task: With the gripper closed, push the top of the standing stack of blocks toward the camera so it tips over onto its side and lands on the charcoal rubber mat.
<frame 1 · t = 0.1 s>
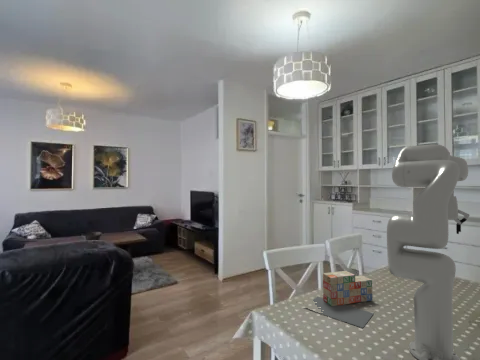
hand: (443, 232, 115), 31 cm above the table, tool pointing down, fingers open, 9 cm apart
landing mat: (337, 310, 109), on the table
stack of blocks: (347, 301, 118), on the table, touching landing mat
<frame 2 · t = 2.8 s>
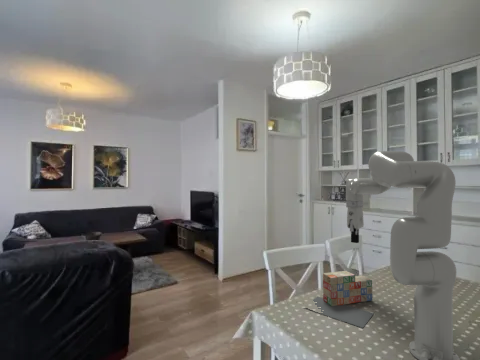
hand: (354, 242, 127), 24 cm above the table, tool pointing down, fingers closed
nothing on the table moved.
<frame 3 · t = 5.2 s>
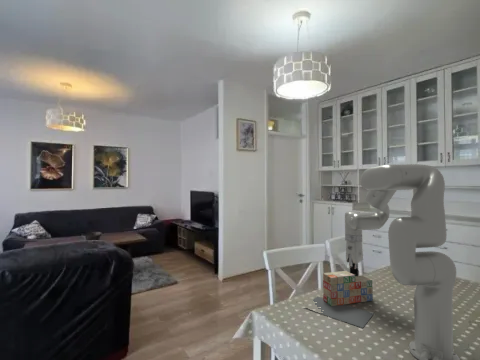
hand: (354, 276, 125), 9 cm above the table, tool pointing down, fingers closed
stack of blocks: (347, 301, 118), on the table, touching gripper, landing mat
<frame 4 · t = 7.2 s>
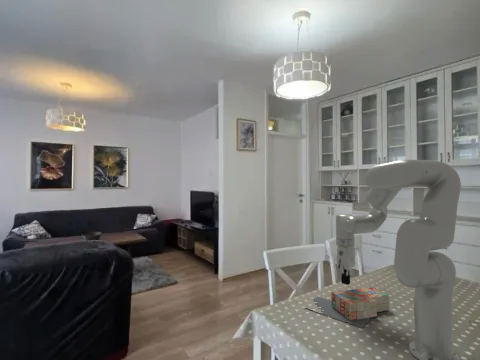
hand: (345, 283, 116), 9 cm above the table, tool pointing down, fingers closed
stack of blocks: (352, 296, 115), point 3 cm above the table, touching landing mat
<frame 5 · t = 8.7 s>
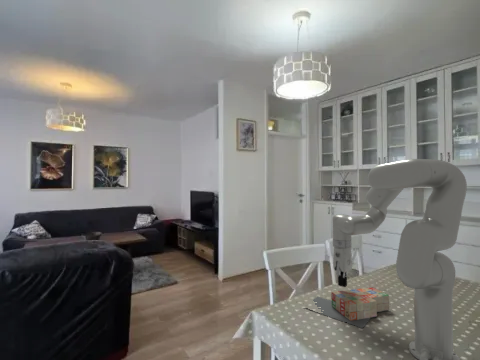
hand: (342, 285, 114), 9 cm above the table, tool pointing down, fingers closed
nothing on the table moved.
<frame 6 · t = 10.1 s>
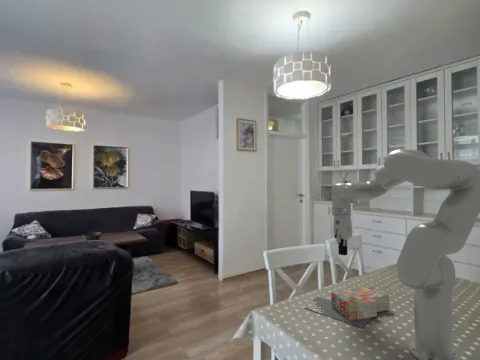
hand: (343, 254, 113), 22 cm above the table, tool pointing down, fingers closed
nothing on the table moved.
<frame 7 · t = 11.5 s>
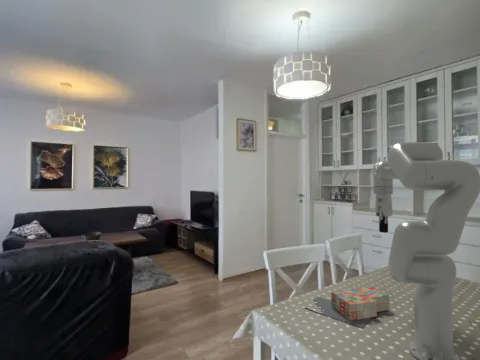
hand: (383, 232, 117), 31 cm above the table, tool pointing down, fingers closed
nothing on the table moved.
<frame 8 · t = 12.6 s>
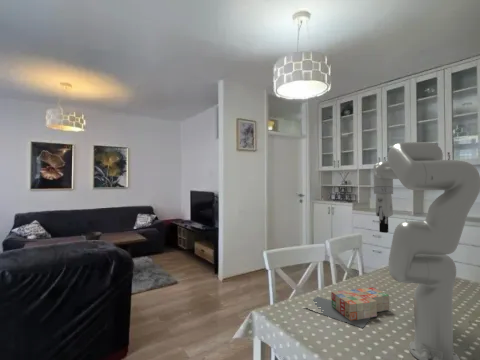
hand: (383, 232, 117), 31 cm above the table, tool pointing down, fingers closed
nothing on the table moved.
at the end: stack of blocks tilted 90°; stack of blocks touching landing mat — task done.
